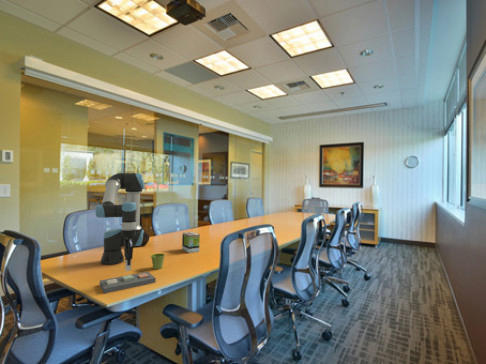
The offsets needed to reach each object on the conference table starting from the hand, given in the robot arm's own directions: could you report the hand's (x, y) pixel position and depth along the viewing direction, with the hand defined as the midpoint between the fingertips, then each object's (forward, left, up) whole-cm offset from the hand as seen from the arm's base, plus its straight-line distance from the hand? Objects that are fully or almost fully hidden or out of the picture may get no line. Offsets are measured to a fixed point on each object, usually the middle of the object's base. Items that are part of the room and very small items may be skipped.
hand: (128, 270), depth 154 cm
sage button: (0, 0, -6) cm, 6 cm away
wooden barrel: (-90, +32, -8) cm, 96 cm away
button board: (0, 0, -8) cm, 8 cm away
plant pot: (-18, +24, -8) cm, 31 cm away
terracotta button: (0, +9, -7) cm, 11 cm away
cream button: (0, -8, -7) cm, 11 cm away
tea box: (-48, +63, -8) cm, 79 cm away
